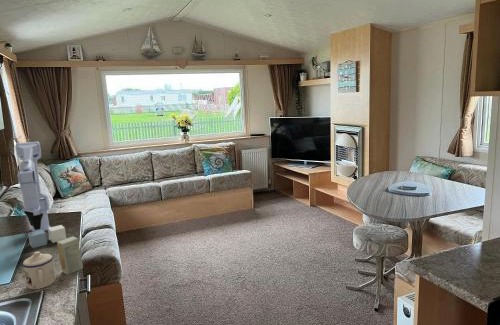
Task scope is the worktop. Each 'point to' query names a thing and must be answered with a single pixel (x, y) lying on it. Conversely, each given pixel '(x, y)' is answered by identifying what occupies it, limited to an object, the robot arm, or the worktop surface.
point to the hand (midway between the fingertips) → (35, 227)
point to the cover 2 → (57, 233)
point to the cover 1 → (37, 238)
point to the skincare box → (70, 255)
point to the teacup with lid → (39, 270)
